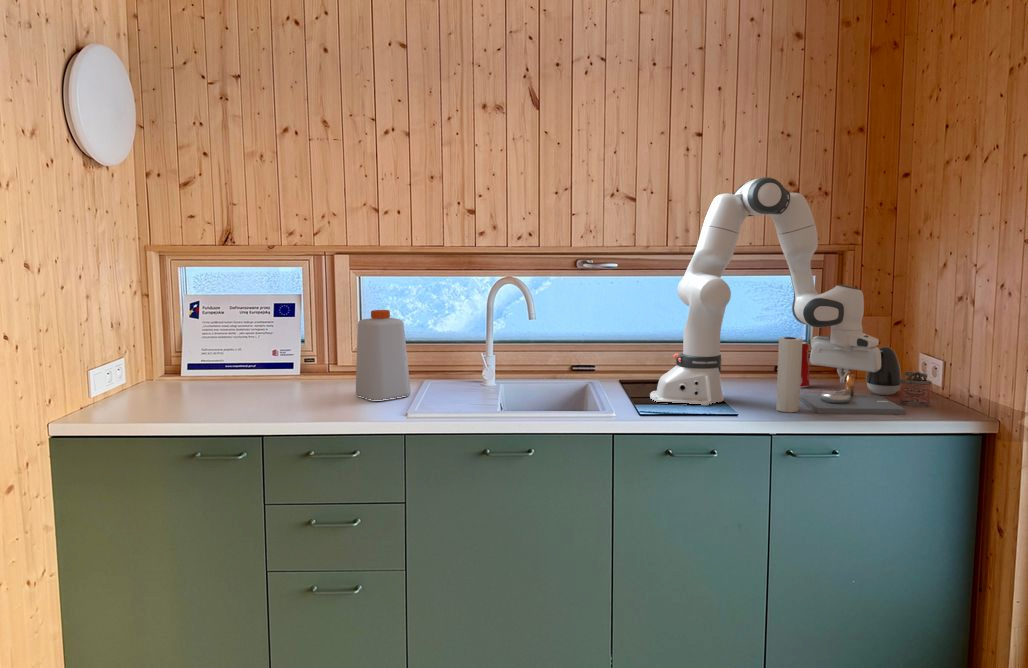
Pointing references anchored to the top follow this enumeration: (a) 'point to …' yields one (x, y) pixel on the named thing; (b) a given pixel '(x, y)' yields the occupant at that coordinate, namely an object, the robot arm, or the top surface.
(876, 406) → the slate board
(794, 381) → the paper towel roll
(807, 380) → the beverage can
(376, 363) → the plastic bottle
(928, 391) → the brown textured block
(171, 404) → the top surface
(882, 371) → the black egg-shaped dome
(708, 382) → the robot arm
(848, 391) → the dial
